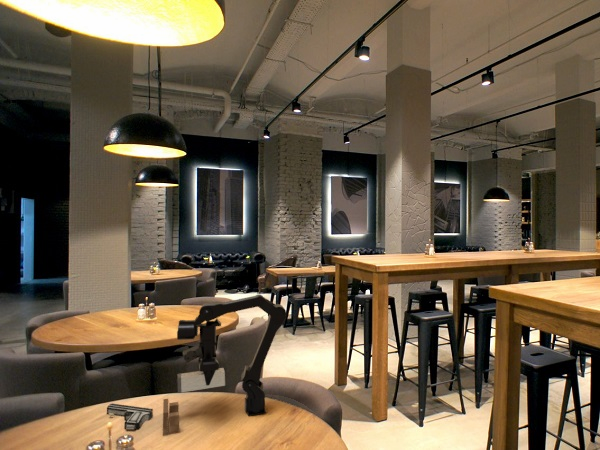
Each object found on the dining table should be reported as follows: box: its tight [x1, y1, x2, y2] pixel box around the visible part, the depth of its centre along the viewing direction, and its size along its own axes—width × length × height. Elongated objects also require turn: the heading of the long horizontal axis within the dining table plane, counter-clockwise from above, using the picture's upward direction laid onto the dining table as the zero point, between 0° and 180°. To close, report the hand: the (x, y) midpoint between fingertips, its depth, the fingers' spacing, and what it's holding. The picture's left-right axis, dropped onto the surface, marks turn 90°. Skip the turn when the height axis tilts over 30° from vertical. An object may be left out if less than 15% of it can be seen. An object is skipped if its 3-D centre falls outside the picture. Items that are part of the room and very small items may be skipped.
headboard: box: [162, 398, 180, 436], centre depth 124 cm, size 5×11×7 cm, turn 20°
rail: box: [176, 367, 226, 394], centre depth 132 cm, size 16×4×5 cm, turn 108°
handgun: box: [106, 403, 154, 431], centre depth 128 cm, size 3×19×12 cm
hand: (207, 383), depth 132 cm, fingers closed on rail, 4 cm apart
